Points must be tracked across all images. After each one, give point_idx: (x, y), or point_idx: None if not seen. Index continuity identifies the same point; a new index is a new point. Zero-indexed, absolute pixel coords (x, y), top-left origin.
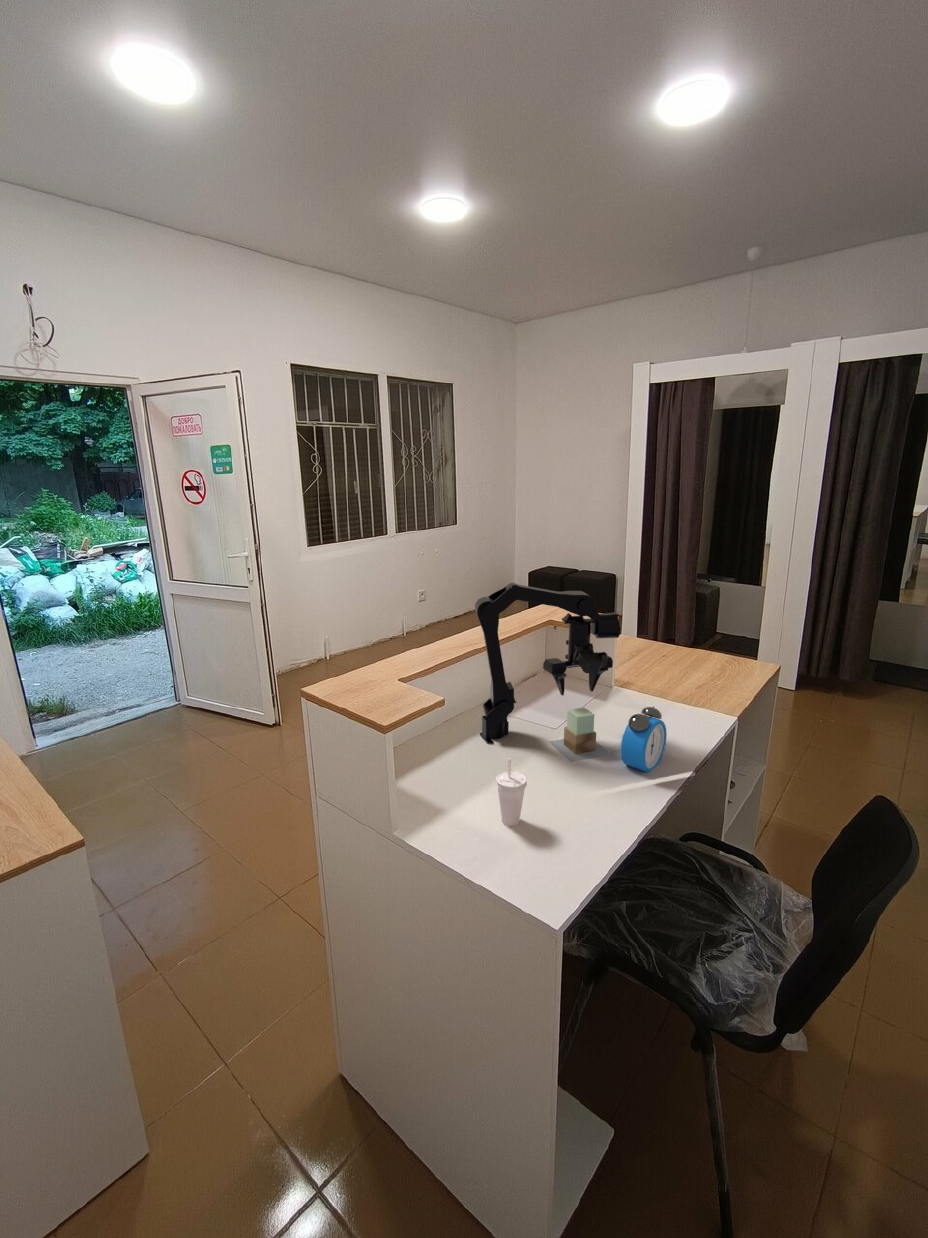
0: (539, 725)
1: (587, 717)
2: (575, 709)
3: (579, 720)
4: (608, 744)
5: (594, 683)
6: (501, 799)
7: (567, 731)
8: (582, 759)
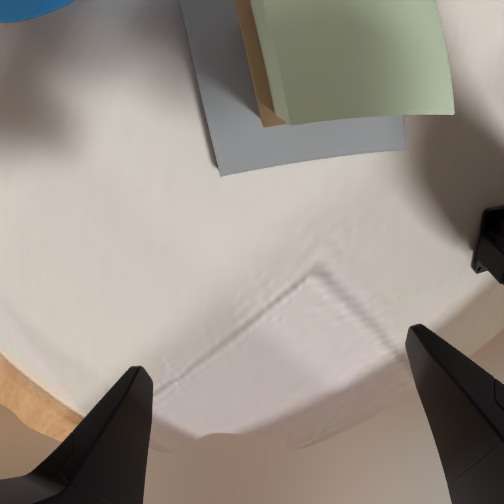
0: (356, 299)
1: None
2: (394, 98)
3: None
4: (149, 110)
5: (103, 418)
6: None
7: None
8: None
